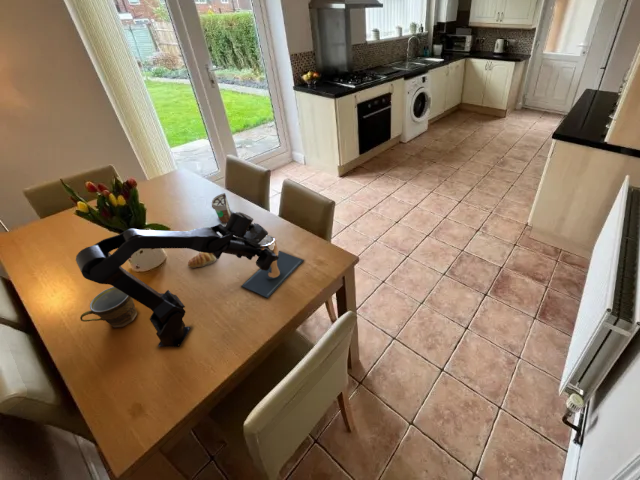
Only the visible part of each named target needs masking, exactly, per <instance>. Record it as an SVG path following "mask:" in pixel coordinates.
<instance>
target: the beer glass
mask: <svg viewBox="0 0 640 480" xmlns="http://www.w3.org/2000/svg"><path fill="white" fill-rule="evenodd" d="M259 244H261V245H260V247H259V248H261V249H262V250H264V249H268V248H269V249H270V250H272V251H273V252H274V253H275V254H276V256H278V252H279V247H278V244H277V240H276V237H275V236H273V235H270V234H268V235H267V236H266V237H265V238H264V239H263V240H262V241H261V242H259ZM281 273H282V271H281V268H280V266H279V261H278V260H276V261H273V262H272V264H271V266H270V267H269V269H268V270H267V271H265V270H264V275H265V278H267V279H275V278H277V277H279V276H280V275H281Z"/></svg>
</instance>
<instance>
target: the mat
mask: <svg viewBox="0 0 640 480" xmlns="http://www.w3.org/2000/svg"><path fill="white" fill-rule="evenodd" d="M278 257H279V258H278V261H279V266H280V268H281V271H282V273H281V275H280V276H279V277H277V278H275V279H267V278H265V275H264V270H261V269H260V268H258V270H257V271H256V272H255V273H254V274H253V275H251V276H250V277H249V278H248V279H247V280H246V281H245V282H244V283H243V284H242V285H241V288H244V289H247V290H248V291H250V292H253V293H255V294H257V295H259V296H261V297H264V298H266V299H269V298H270V297H271V295H273V293H275V291H276V290H278V288H280V286H281V285H282V284H284V282H285V281H286V280H287V279H288V278H289V277H290V276H291V275H292V274H293V272H295V270H297V269H298V267H299V266H300V265H301V264H302V263H303V262H304V259H302V258H300V257H296V256H294V255H292V254H290V253H286V252H283V251H281V250H278Z"/></svg>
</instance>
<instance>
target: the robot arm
mask: <svg viewBox="0 0 640 480" xmlns="http://www.w3.org/2000/svg"><path fill="white" fill-rule="evenodd" d="M253 222H254V218H253V217H251V216H250V215H248V214H246V213H243V212H241V211H236V212H235V211H232V212H231V216H230V219H229V220H228V222H227V223H225V225H223V224H222V223H219V224H216V225H213V226H209V227H208V226H207V227H198V228H194V229H191V230H186V231H182V230H180V231H179V230H156V229H155V230H154V229H153V230H150V229H149V230H148V229H147V230H146V229H137V228H128V229H126V230H124V231H123V232H121V233H119V234H117V235H113V236H110V237H107V238H104V239H101V240H100V241H98V242H97V243H95V244H93V245H90V246H86V247H85V248H82V249H81V250H80V251H79V252H78V253H77V254H76V256H75V262H76V264H77V266H78V268H79V271H80V273H81V275H82V277H83V278H84V279H85V280H88V281H91V282H94V283H97V284H100V285H110V286H112V287H115V288H117V289H119V290H120V291H122V292H123V293H125V294H127V295H128V296H130V297H132V298H133V300H134V301H136V302H138V303H139V304H141V305H143V306H145V307H146V308H148V309H149V310H151V311H152V314H151V315H150V317H149V321H150V323H151V324H152V326H153V327H154V329H155V331H156V332H155V334H156V336H157V338H158V339H159V343H158V344H157V345H158V346H157V347H158V348H180V347H181V346H182V344H183V343H184V341H185V339H186V337H187V336H188V334H189V332H190V331H191V329H192V327H191V326H186V324H185V322H184V320H183V319H184V317H185V315H186V313H187V312H186V310H185V308H186V306H185V304H184V303H183V302H182V301H181V299H180V298H179V297H178V295H177V294H175V293H174V294H173V293H172V292H171V291H170V290H169V289H167V290H166V291H165V292H164V293H162V292H158V291H157V290H155V289H154V288H153V287H151V286H149V285H148V284H147V283H145V282H144V281H142V280H141V279H139V278H138V277H137V276H135V275H133V274H132V273H131V272H129V271H128V270H126V269H125V268H123V267H122V266H123V265H125V263H126V262H127V261H128V260H129V259H130V258H131V257H132V256H133V255H134V254H135V253H136V252H138V251H140V250H141V249H142V250H148V249H149V250H151V249H153V250H155V249H164V250H165V249H167V250H168V249H188V250H193V251H195V252H199V253H200V252H204V253H212V254H213V255H214V256H215V258H216V260H219V259H220V258H221V256H222V254H228V255H231V256H235V257H236V258H238V259H242V258H246V259H247V260H249V261H252V259H253V258H254V257H257V259H256V261H255V265H256V267H258V269H261V270H265V271H267V270H268V269H269V267H270V266H271V264H272V262H273V261H276V260H278V258H279V257H278V256H276V254H275V253H274V252H273V251H272V250H270V249H269V248H268V249H264V250H262V249H261V248H259V247H260V245H261V244H259V242H261V241H262V240H263V239H264V238H265V237H266V236H267V235H269V231H267V230H266V229H265V228H264V227H263V226H262V225H260V224H259V223H255V222H254V223H253ZM114 250H115V251H114ZM112 251H114V252H113V253H112V254H111V253H110V252H112Z"/></svg>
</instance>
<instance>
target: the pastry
mask: <svg viewBox="0 0 640 480" xmlns="http://www.w3.org/2000/svg"><path fill="white" fill-rule="evenodd" d="M216 260H217V258H216V257H215V256H214V255H213V254H212V253H204V252H199V253H197V254H196V255H195V256H193V257H192V258H190V259H189V260H188V262H187V265H188V267H189V268H191V269H192V268H193V269H195V268H202V267H205V266H208V265H211V264H213V263H215V262H216Z"/></svg>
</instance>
